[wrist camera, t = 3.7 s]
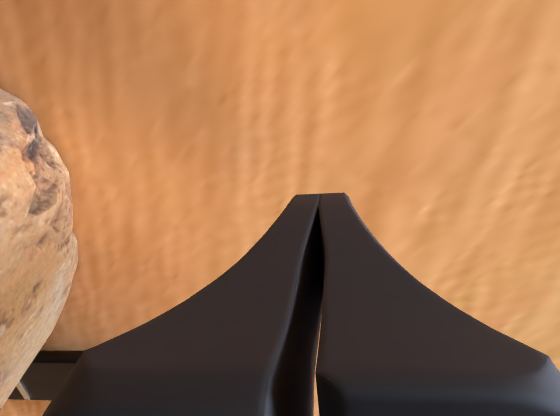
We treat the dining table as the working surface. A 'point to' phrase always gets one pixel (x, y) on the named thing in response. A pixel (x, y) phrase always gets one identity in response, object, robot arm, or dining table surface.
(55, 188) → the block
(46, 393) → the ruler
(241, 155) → the dining table surface
